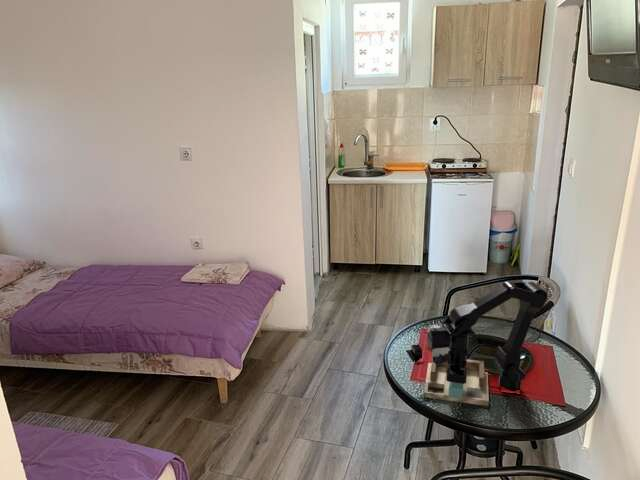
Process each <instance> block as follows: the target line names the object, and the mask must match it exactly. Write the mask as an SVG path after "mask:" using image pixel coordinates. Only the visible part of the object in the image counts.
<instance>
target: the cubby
mask: <svg viewBox="0 0 640 480" xmlns="http://www.w3.org/2000/svg"><path fill="white" fill-rule="evenodd" d="M431 359H432V360H431V363H432V365H431V375H430V380H435V374H436V366H439V367H447V368H448V367H449V365H448V361H447V362H444V363H443V364H438V365H437V364H435V363H434V362H433V358H431ZM484 362H485V361H484V360H475V359H467V366H466V370H472V371H479V386H481V387H484V370H485V363H484Z"/></svg>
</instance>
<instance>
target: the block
mask: <svg viewBox="0 0 640 480" xmlns="http://www.w3.org/2000/svg"><path fill="white" fill-rule="evenodd" d="M462 394H463V384H462V383H455V382H449V393H448V397H454V398H460V399H462Z"/></svg>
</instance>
